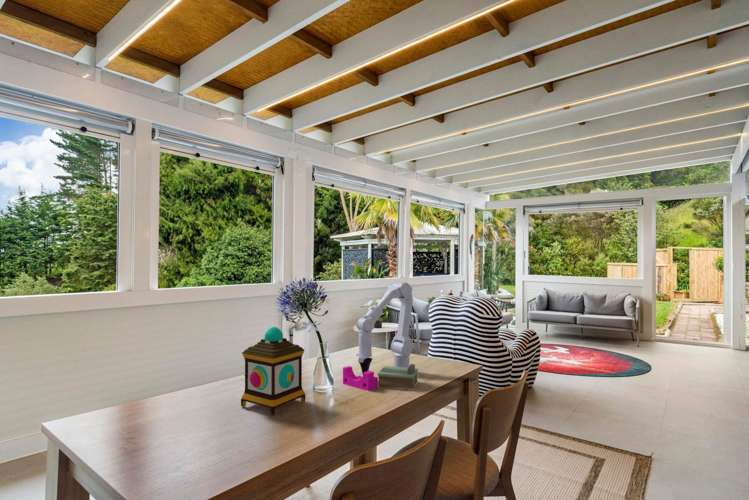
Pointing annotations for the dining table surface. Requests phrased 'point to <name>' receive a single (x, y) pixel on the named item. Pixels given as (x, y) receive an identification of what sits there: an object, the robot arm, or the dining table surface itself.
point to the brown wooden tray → (397, 382)
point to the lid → (399, 371)
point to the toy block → (359, 379)
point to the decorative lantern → (273, 371)
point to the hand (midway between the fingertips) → (365, 374)
